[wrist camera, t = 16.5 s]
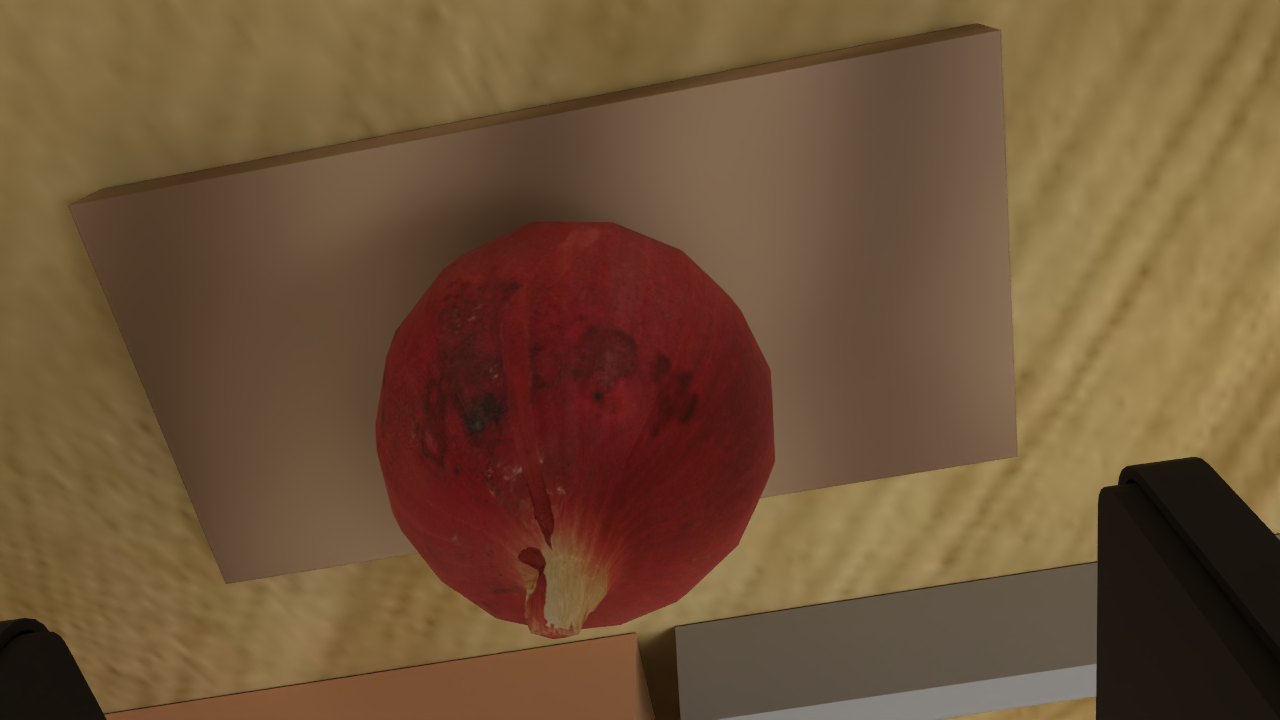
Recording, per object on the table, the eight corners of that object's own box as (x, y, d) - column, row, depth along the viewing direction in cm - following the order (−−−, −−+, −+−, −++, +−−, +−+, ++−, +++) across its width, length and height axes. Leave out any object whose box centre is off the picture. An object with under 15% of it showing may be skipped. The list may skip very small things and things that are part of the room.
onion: (368, 262, 18) (179, 496, 10) (659, 112, 17) (676, 253, 9) (529, 513, 20) (467, 856, 13) (797, 393, 19) (901, 688, 12)
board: (977, 23, 17) (1000, 30, 16) (997, 428, 21) (1017, 456, 19) (101, 189, 18) (67, 205, 17) (246, 550, 22) (226, 583, 20)
